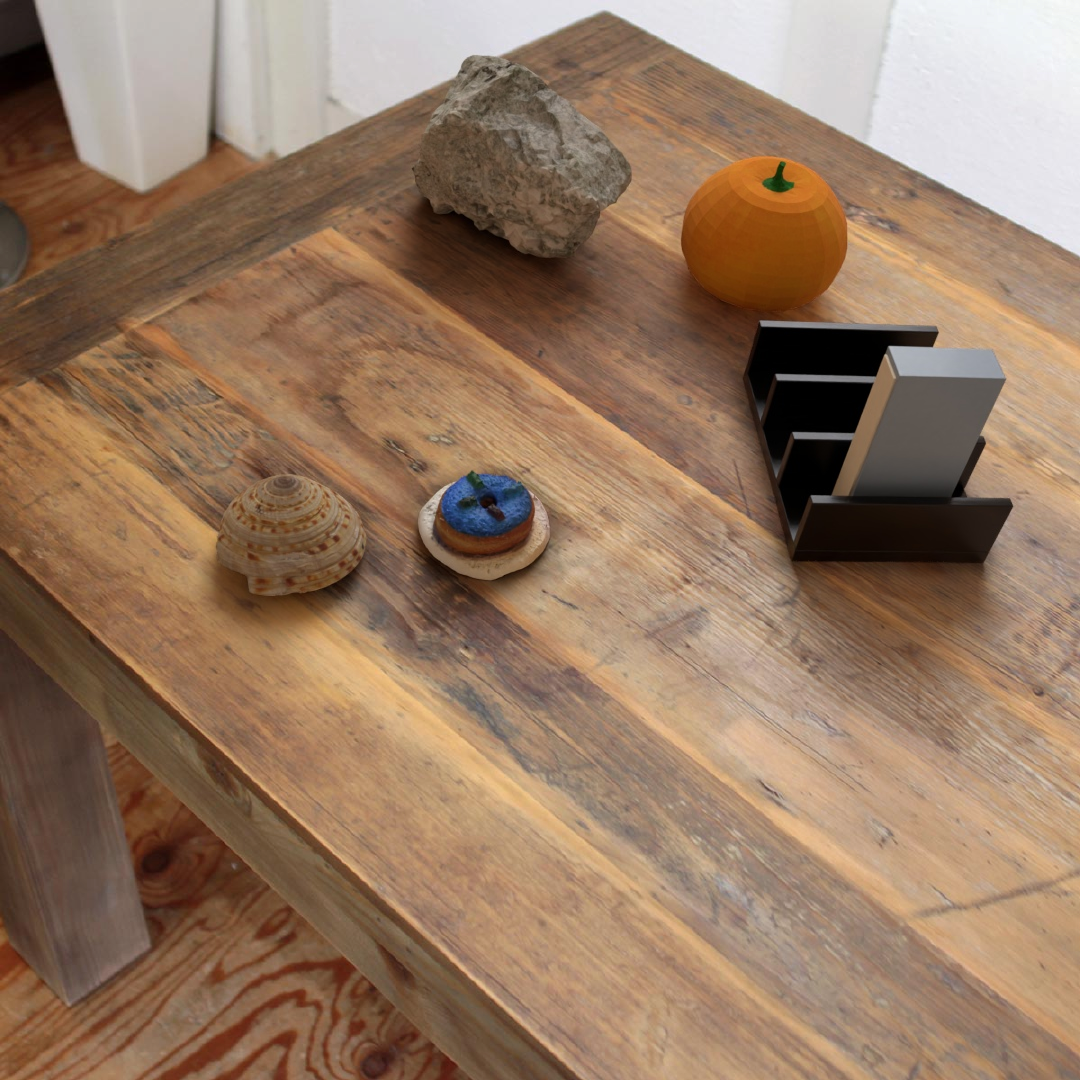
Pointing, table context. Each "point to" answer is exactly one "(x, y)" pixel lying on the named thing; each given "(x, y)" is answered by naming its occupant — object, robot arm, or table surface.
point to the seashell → (290, 536)
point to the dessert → (484, 526)
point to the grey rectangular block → (921, 422)
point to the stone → (518, 159)
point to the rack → (824, 440)
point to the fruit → (765, 234)
